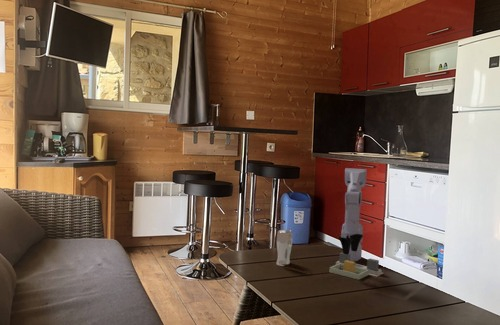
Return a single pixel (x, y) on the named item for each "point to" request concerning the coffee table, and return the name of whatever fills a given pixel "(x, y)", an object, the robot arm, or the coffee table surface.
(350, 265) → the block
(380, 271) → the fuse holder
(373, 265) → the block
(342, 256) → the block
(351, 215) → the robot arm
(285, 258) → the beer glass
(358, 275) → the tray
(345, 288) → the coffee table surface
